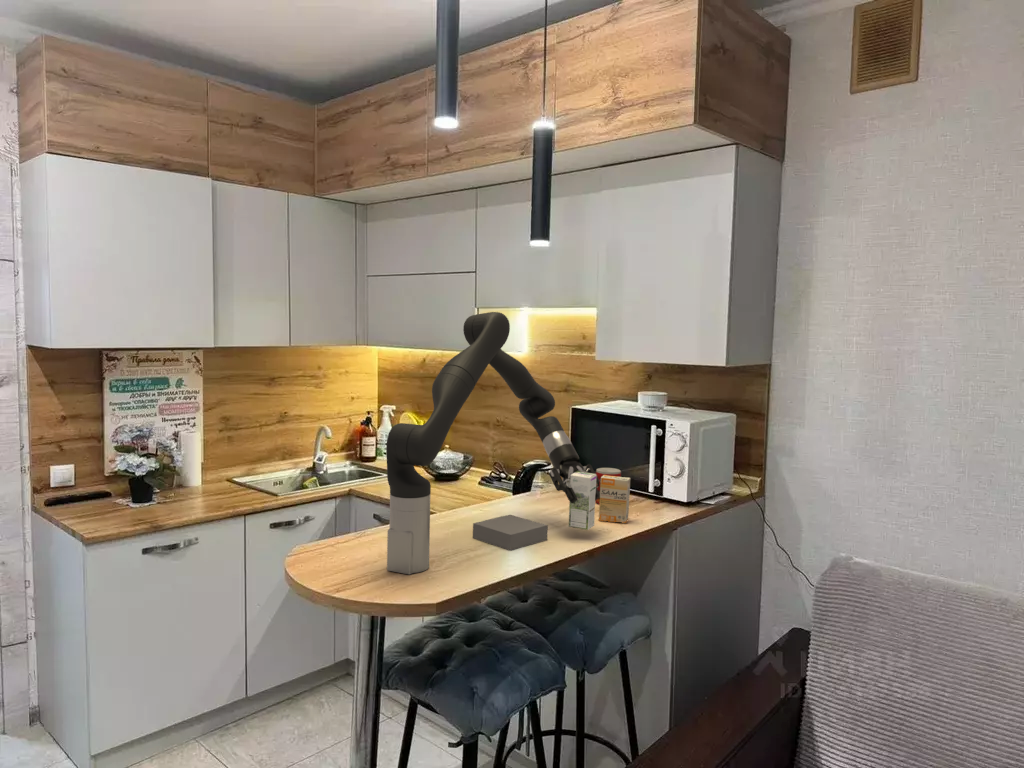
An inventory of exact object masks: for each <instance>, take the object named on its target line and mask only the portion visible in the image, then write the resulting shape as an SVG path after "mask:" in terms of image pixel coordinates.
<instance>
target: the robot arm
mask: <svg viewBox="0 0 1024 768" xmlns="http://www.w3.org/2000/svg"><path fill="white" fill-rule="evenodd" d="M510 328H511V325H510V321H509V318H508V317H507V315H505V314H504V313H502V312H498V311H489V312H484V313H477V314H473V315H470V316H468V317H467V318H466V319H465V321H464V324H463V329H462V330H463V336H464V338H465V341H466V342H467V344H468V345H469V346H468V347H466V348H464V349H463V350H462V351H461V352H459V353H457V354H456V355H455V356H453V357H452V358H451V359H449V360H448V361H447V362H446V363H445V364H444V365H443V367H442V368H441V370H440V371H439V372H438V374H437V375H436V377H435V379H434V381H433V383H432V387H431V395H432V402H433V411H432V413H431V414H430V416H429V418H428V419H427V420H426V422H425V423H423V424H417V423H416V424H414V423H413V424H412V423H404V422H403V423H396V424H394V425H393V426H392V427H391V429H390V430H389V432H388V435H387V439H386V449H385V450H386V472H387V473H386V477H387V478H386V480H387V483H388V487H389V529H387V535H386V536H387V541H386V543H387V544H386V546H387V547H386V549H387V550H386V551H387V552H386V570H387V571H389V572H395V573H400V574H405V575H412V574H416V573H421V572H424V571H426V570H428V569H429V568H430V539H431V537H430V536H431V535H430V534H431V531H430V530H431V529H430V528H431V493H432V492H431V491H432V488H431V487H432V486H431V482H430V481H429V479H427V478H426V477H424V476H423V475H421V474H420V472H418V471H417V470H416V469H415V466H417V467H425V466H426V467H427V466H428V465H430V464H432V462H434V460H435V459H436V458H437V456H438V454H439V453H440V451H441V448H442V446H443V444H444V442H445V440H446V439H447V438H446V437H447V436H448V434H449V432H450V429H451V427H452V425H453V423H454V421H455V419H456V418H457V416H458V414H459V413H460V411H461V409H463V408H462V407H463V406H464V404H466V403H465V402H466V401H467V400H468V399H469V397H470V395H471V394H472V392H473V391H474V389H475V386H476V385H477V383H478V382H479V380H480V379H481V377H482V375H483V374H484V373H485V371H486V369H487V367H488V366H491V367H492V368H493V369H494V370H495V371H496V373H498V375H499V376H500V377H501V378H502V379H503V380H504V382H505V383H506V385H507V386H508V388H509V389H510V391H511V392H512V393H513V395H514V396H516V398H518V399H519V400H520V399H521V400H520V401H519V404H518V410H519V413H520V415H521V416H522V417H523V418H524V419H525V420H526V421H527V422H528V423H529V424H530V425H531V426H532V427H533V429H534V430H535V431H536V433H537V435H538V436H539V438H540V441H541V443H542V445H543V449H544V450H545V452H546V454H547V456H548V458H549V461H550V462H551V464H552V467H553V468H552V469H551V470H550V471H549V472H548V475H549V478H550V479H551V481H552V483H553V485H554V488H555V489H556V491H558V492H560V491H562V492H563V493H564V494H565V496H566V497H567V500H568V501H569V503H570V502H571V503H575V502H576V501H577V497H576V495H575V493H574V491H573V489H572V488H570V487H571V485H570V480H571V475H572V474H573V473H575V472H584V473H592V474H596V471H595V470H594V468H593V465H591V464H590V463H588V464H587V465H584V466H583V465H582V464H581V462H580V457H579V455H578V453H577V451H576V448H575V447H574V445H573V443H572V441H571V439H570V438H569V436H568V435H567V433H566V432H565V430H564V428H563V427H562V426H563V425H562V424H561V422H560V421H559V419H558V418H557V417H556V416H552V415H551V416H547V417H543V416H544V415H546V414H549V413H550V412H552V411H553V410H554V408H555V406H556V400H555V397H554V396H553V395H552V394H551V392H550V391H549V390H547V389H546V388H544V387H543V386H542V385H540V384H539V383H538V382H537V381H536V380H535V379H534V378H533V376H532V374H531V373H530V371H529V370H528V368H527V367H526V366H525V365H524V364H523V363H522V362H521V361H520V360H518V359H516V358H515V357H513V356H512V355H510V354H508V353H507V352H506V351H504V350H502V348H503V347H504V345H505V344H506V343H507V340H508V339H509V335H510V330H511V329H510ZM541 417H542V418H541ZM598 482H599V479H598V477H597V475H596V484H597V483H598ZM599 497H600V493H599V492H598V490H597V488H596V495H595V500H597V499H598V498H599Z"/></svg>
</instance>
